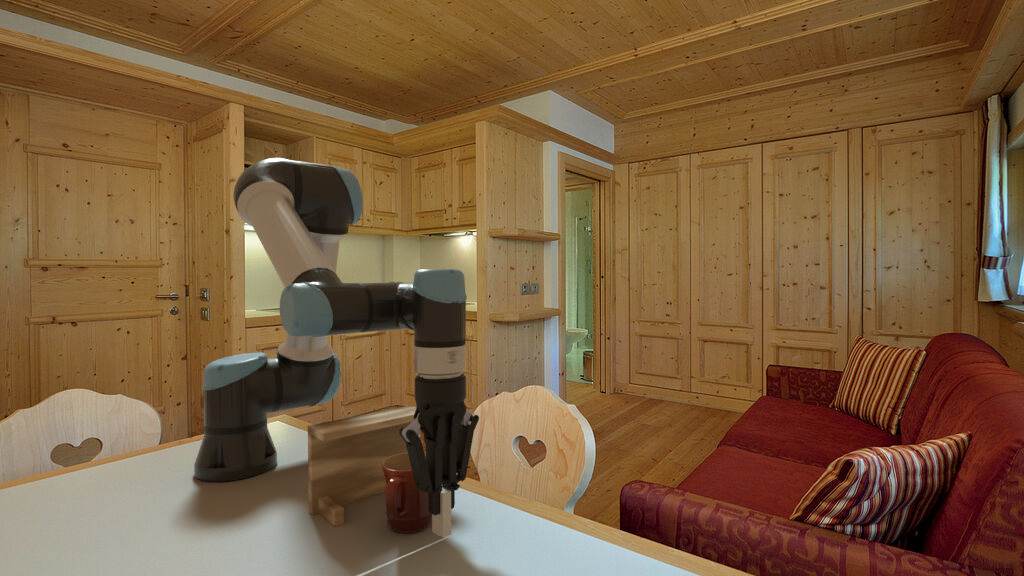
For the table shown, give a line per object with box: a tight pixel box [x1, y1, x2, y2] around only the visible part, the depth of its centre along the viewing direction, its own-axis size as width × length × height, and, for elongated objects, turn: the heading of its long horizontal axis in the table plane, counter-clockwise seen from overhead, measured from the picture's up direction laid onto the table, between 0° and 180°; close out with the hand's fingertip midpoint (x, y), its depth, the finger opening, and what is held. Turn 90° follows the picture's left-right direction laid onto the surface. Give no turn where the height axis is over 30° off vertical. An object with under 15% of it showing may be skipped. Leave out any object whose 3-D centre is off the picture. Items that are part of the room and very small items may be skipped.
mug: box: [381, 452, 432, 534], centre depth 80 cm, size 12×9×10 cm
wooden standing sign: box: [307, 405, 417, 527], centre depth 90 cm, size 8×20×15 cm, turn 133°
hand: (441, 532), depth 76 cm, fingers closed
